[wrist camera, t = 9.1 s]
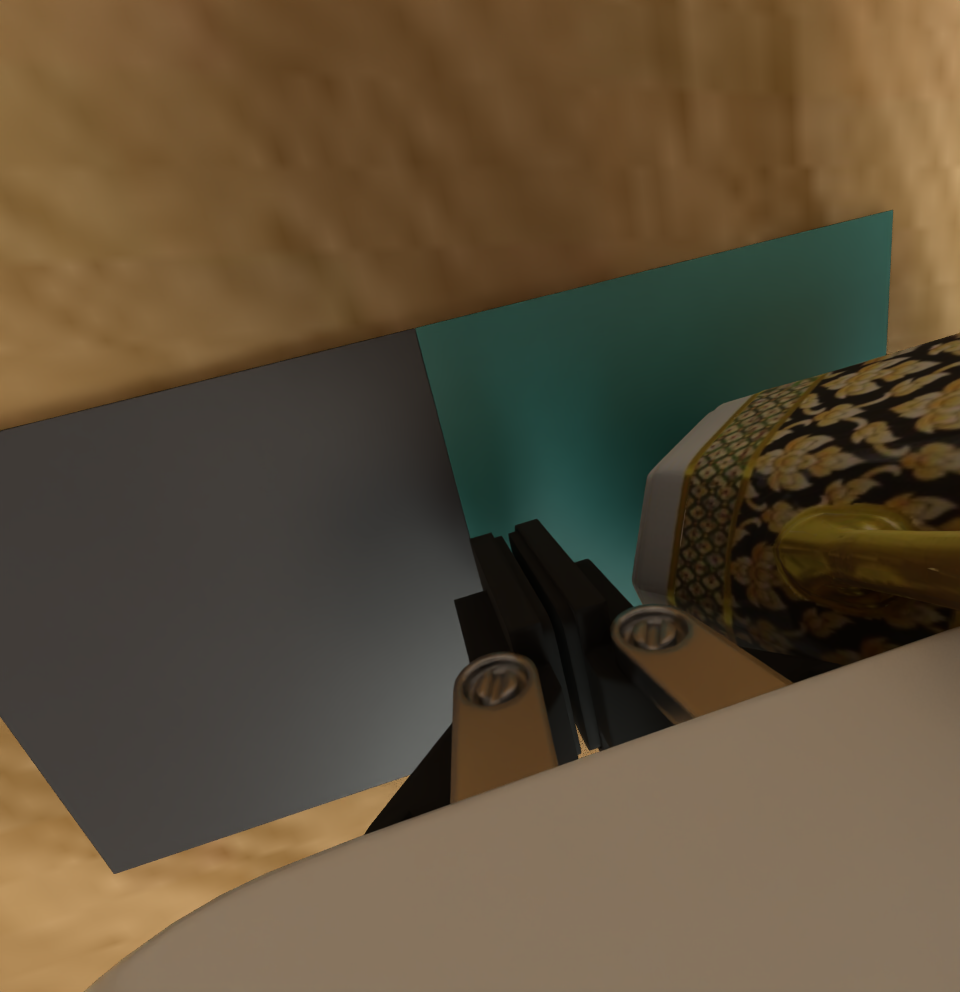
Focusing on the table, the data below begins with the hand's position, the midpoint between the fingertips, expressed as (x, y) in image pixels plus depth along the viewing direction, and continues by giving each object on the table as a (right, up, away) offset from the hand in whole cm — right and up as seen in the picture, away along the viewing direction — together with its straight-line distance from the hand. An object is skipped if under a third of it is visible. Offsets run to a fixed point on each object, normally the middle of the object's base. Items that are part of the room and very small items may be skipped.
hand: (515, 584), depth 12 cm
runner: (-1, 0, +1) cm, 2 cm away
